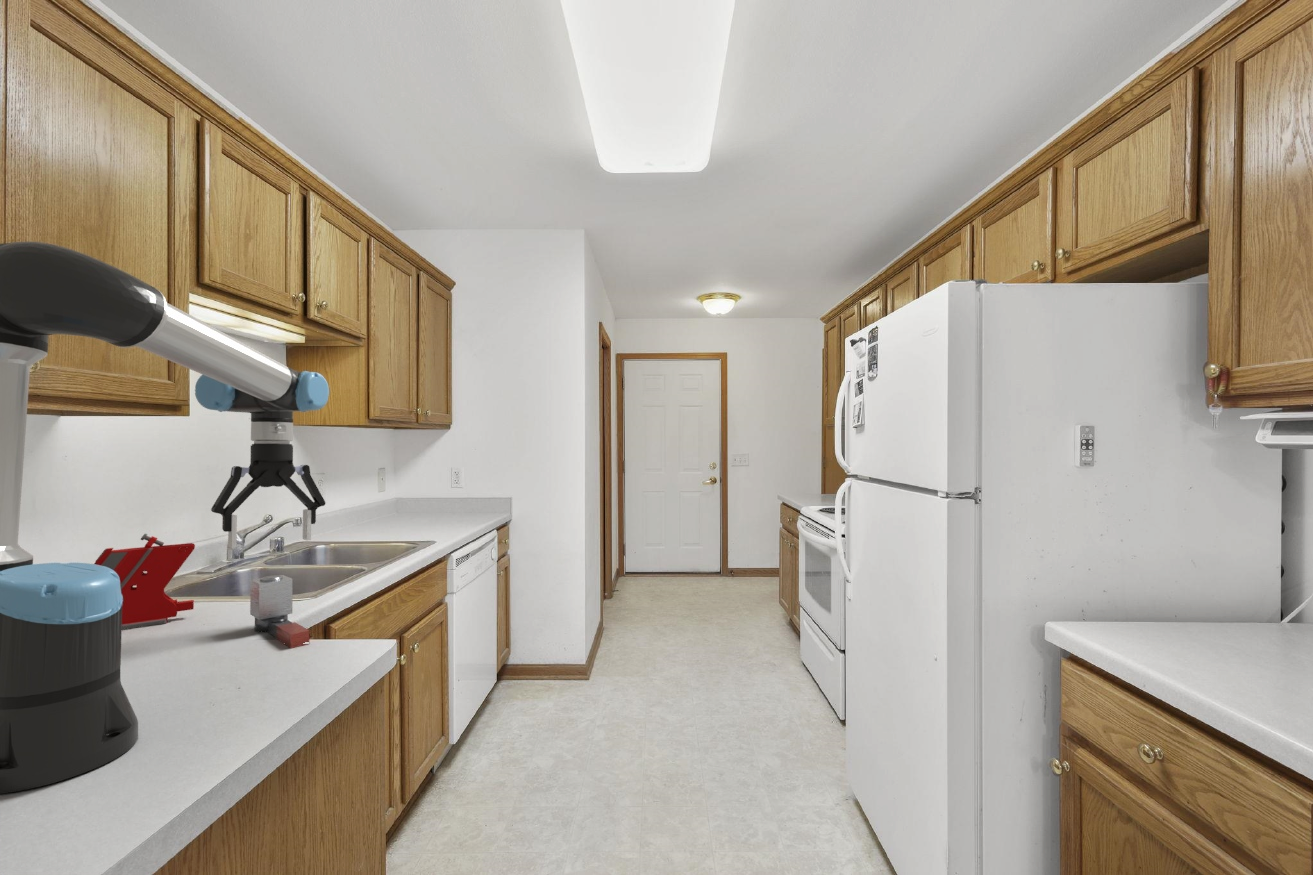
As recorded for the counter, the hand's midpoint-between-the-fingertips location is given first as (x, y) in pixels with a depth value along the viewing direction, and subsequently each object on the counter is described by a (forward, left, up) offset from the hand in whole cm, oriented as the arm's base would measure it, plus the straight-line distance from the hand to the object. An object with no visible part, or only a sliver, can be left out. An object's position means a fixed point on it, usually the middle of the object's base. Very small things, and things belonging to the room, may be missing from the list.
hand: (271, 543), depth 123 cm
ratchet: (0, -7, -18) cm, 19 cm away
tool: (-22, +25, -18) cm, 38 cm away
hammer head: (0, 0, -15) cm, 15 cm away
